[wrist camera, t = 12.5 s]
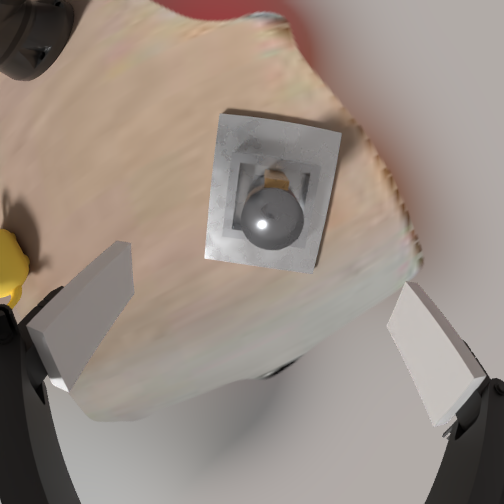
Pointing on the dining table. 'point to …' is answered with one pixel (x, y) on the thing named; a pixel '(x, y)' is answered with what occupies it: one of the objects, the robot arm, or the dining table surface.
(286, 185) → the grey rounded cylinder
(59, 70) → the dining table surface
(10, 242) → the teapot
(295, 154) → the collar
